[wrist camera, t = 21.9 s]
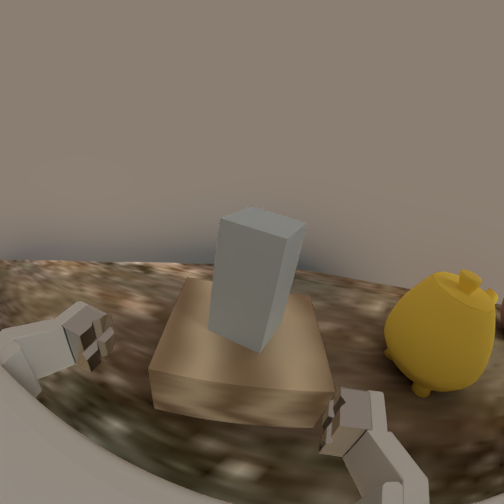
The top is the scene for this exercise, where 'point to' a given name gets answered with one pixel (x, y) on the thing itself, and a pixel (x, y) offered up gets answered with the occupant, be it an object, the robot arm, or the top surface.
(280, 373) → the maple block
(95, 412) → the top surface
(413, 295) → the teapot
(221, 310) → the gray block
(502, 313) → the mortar and pestle
